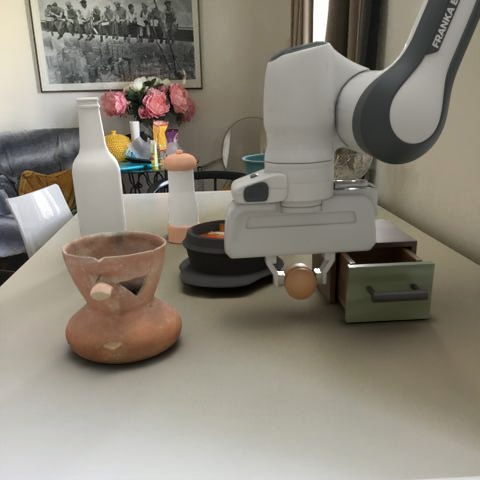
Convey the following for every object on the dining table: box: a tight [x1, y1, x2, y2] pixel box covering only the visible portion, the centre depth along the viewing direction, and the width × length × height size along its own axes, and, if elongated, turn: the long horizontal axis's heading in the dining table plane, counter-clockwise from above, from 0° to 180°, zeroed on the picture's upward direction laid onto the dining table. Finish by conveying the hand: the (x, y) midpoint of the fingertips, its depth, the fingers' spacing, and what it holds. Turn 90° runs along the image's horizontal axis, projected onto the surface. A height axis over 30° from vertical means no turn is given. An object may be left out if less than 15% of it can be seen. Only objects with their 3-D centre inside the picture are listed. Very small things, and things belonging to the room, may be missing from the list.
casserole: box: [178, 219, 285, 289], centre depth 99 cm, size 25×19×8 cm
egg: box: [283, 262, 318, 301], centre depth 78 cm, size 6×4×4 cm
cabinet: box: [311, 219, 418, 304], centre depth 90 cm, size 15×13×10 cm
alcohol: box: [71, 96, 128, 237], centre depth 106 cm, size 9×9×30 cm
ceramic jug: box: [61, 230, 183, 365], centre depth 71 cm, size 18×14×14 cm
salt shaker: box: [162, 149, 201, 244], centre depth 122 cm, size 7×7×19 cm
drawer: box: [335, 247, 436, 323], centre depth 80 cm, size 18×11×8 cm, turn 4°
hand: (299, 284), depth 78 cm, fingers closed on egg, 4 cm apart
